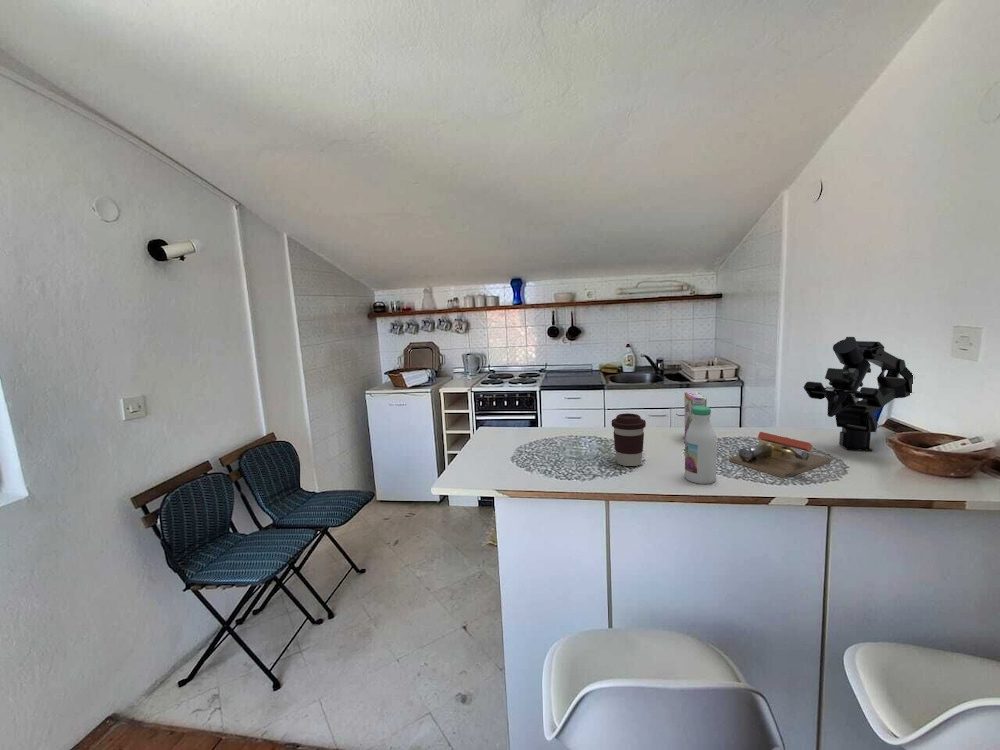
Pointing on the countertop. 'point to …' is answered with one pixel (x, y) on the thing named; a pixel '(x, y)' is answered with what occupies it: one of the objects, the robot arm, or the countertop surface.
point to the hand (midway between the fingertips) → (829, 415)
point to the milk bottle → (700, 448)
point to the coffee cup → (628, 438)
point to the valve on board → (777, 459)
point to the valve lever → (788, 444)
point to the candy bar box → (692, 401)
